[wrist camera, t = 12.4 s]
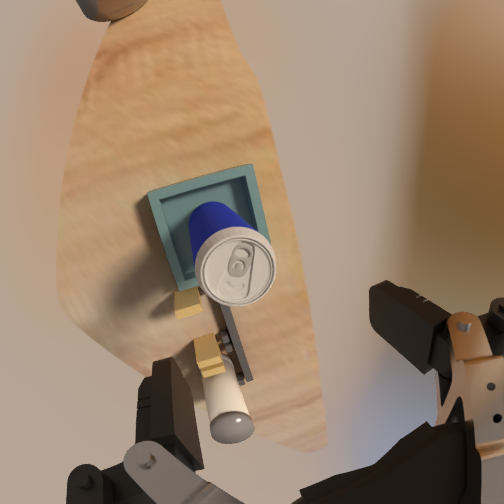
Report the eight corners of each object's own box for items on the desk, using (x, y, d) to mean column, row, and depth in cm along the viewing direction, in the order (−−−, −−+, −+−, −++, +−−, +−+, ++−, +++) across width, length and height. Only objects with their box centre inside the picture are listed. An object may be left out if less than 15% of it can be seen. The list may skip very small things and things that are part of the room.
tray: (149, 191, 29) (147, 193, 26) (246, 164, 30) (252, 163, 28) (179, 282, 32) (179, 291, 30) (267, 255, 34) (274, 261, 32)
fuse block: (173, 288, 32) (172, 307, 28) (219, 274, 33) (225, 291, 29) (214, 386, 38) (220, 410, 33) (251, 374, 39) (260, 397, 34)
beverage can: (228, 251, 32) (266, 316, 18) (183, 241, 31) (187, 304, 17) (240, 206, 31) (290, 240, 17) (194, 195, 29) (207, 221, 15)
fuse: (194, 358, 36) (205, 426, 24) (227, 348, 36) (248, 414, 25) (205, 381, 37) (219, 447, 26) (236, 372, 38) (258, 436, 27)
